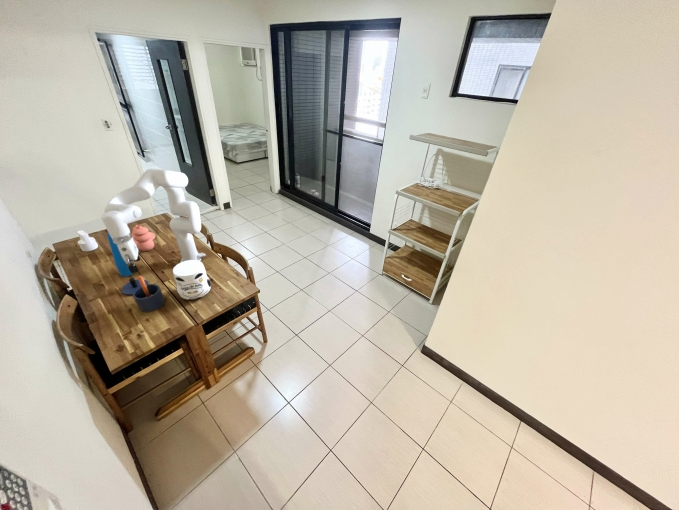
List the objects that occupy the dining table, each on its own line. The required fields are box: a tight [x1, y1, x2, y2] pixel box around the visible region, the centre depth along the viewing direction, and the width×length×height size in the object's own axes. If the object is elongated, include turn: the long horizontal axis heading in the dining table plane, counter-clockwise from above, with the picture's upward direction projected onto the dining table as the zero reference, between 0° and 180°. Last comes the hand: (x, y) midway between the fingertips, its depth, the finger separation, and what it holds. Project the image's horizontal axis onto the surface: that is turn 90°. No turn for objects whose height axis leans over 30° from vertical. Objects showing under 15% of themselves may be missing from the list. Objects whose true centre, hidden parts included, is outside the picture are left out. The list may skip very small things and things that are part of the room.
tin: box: [132, 283, 166, 313], centre depth 147 cm, size 12×12×9 cm
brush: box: [137, 275, 152, 298], centre depth 144 cm, size 4×4×19 cm
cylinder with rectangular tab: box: [76, 229, 99, 252], centre depth 186 cm, size 9×9×12 cm
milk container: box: [172, 260, 212, 301], centre depth 154 cm, size 17×17×18 cm
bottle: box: [104, 228, 134, 277], centre depth 162 cm, size 7×7×30 cm
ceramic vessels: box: [131, 224, 156, 252], centre depth 194 cm, size 35×21×19 cm, turn 46°
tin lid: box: [121, 277, 149, 296], centre depth 158 cm, size 13×13×6 cm
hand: (135, 266), depth 136 cm, fingers open, 9 cm apart
